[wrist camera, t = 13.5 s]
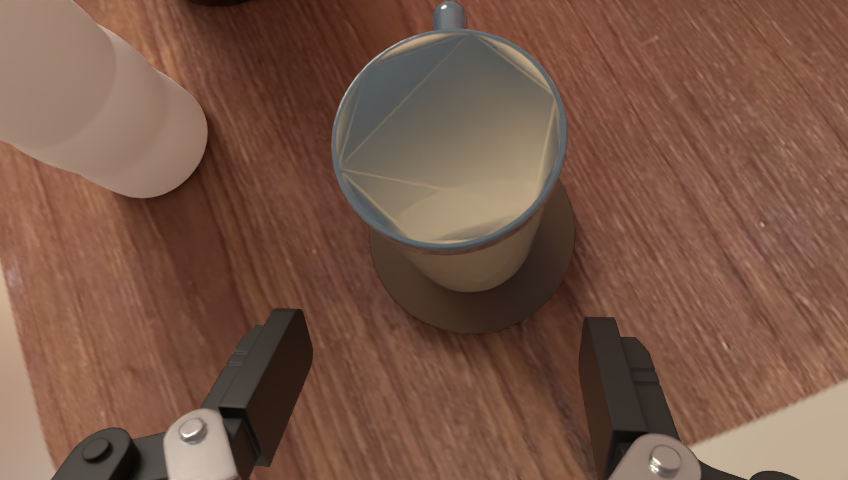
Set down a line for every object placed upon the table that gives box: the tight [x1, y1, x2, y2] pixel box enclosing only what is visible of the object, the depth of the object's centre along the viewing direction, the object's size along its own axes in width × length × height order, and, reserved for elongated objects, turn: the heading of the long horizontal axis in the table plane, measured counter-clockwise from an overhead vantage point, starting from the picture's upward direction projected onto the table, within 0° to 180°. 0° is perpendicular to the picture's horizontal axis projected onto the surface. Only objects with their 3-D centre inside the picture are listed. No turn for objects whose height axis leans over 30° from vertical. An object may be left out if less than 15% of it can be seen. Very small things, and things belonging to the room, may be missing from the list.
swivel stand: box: [369, 178, 575, 334], centre depth 25 cm, size 10×10×2 cm
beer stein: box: [331, 0, 568, 292], centre depth 19 cm, size 6×9×11 cm
